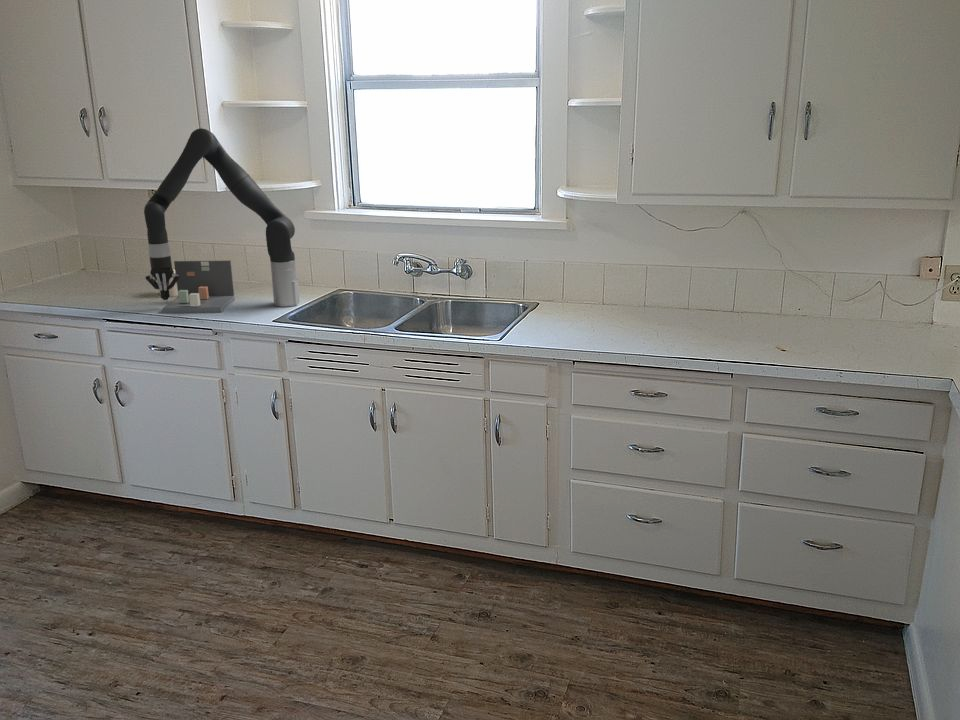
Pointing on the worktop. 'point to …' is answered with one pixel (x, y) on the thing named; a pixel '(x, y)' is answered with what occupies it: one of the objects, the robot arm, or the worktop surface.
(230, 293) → the switch unit
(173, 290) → the teacup with lid
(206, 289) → the terracotta slider
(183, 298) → the sage slider
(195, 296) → the cream slider
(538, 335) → the worktop surface
